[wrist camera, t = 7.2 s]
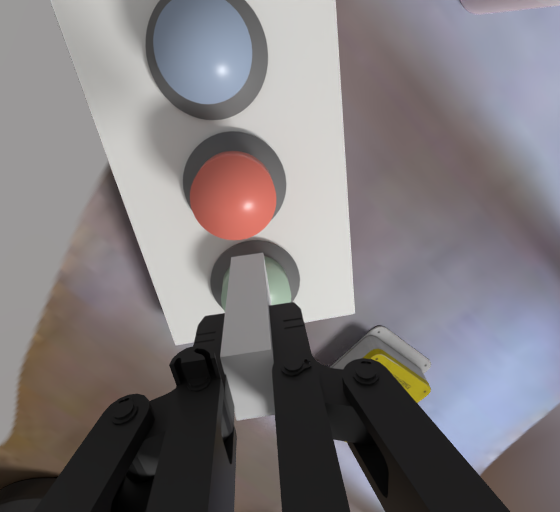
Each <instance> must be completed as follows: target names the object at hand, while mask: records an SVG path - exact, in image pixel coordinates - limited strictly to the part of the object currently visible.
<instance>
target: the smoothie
mask: <svg viewBox="0 0 560 512" xmlns="http://www.w3.org/2000/svg"><path fill="white" fill-rule="evenodd" d="M460 1H461V3H462V5H463V6H464V8H465V9H466V10H467V11H469V12H470V13H473V14H489V13H498V12H507V11H516V10H525V9H533V8H542V7H551V6H560V0H460Z"/></svg>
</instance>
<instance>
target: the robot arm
mask: <svg viewBox="0 0 560 512" xmlns="http://www.w3.org/2000/svg"><path fill="white" fill-rule="evenodd" d="M169 366H170V368H171V371H172V374H173V377H174V379H175V382H176V385H177V386H176V389H174V390H173V391H171V392H170V393H168V394H166V395H163V396H161V397H159V398H156V399H154V400H151V401H149V400H148V399H147V398H146V397H145V396H144V395H140V394H131V395H127V396H125V397H122V398H120V399H118V400H117V401H115V402H114V403H112V404H111V405H110V406H109V407H108V408H107V409H106V410H105V411H104V413H103V414H102V415H101V417H100V418H99V420H98V421H97V423H96V424H95V425H94V427H93V428H92V430H91V431H90V432H89V434H88V435H87V437H86V438H85V440H84V441H83V442H82V444H81V445H80V447H79V448H78V449H77V451H76V452H75V454H74V455H73V456H72V458H71V459H70V461H69V462H68V464H67V465H66V466H65V468H64V469H63V471H62V472H61V473H60V475H59V476H58V478H57V479H56V478H38V479H29V480H24V481H20V482H16V483H13V484H11V485H8V486H6V487H4V488H2V489H1V490H0V512H234V497H235V468H236V440H237V436H236V430H235V427H234V412H235V415H236V419H237V420H244V419H250V418H257V417H263V416H270V415H275V421H276V434H277V448H278V461H279V475H280V488H281V502H282V512H350V508H349V504H348V500H347V496H346V491H345V487H344V483H343V479H342V474H341V470H340V466H339V462H338V457H337V453H336V449H335V445H334V441H333V439H334V440H340V441H346V442H347V443H348V445H349V447H350V449H351V451H352V452H353V454H354V456H355V458H356V460H357V461H358V463H359V465H360V467H361V469H362V470H363V472H364V474H365V476H366V478H367V479H368V481H369V483H370V485H371V487H372V488H373V490H374V492H375V494H376V496H377V498H378V499H379V501H380V503H381V505H382V507H383V508H384V510H385V512H510V511H509V510H508V508H507V507H506V506H505V505H504V504H503V503H502V502H501V500H500V499H499V498H498V497H497V496H496V495H495V493H494V492H493V491H492V490H491V489H490V488H489V486H488V485H487V484H486V483H485V482H484V480H483V479H482V478H481V477H480V476H479V475H478V473H477V472H476V471H475V470H474V469H473V468H472V467H471V465H470V464H469V463H468V462H467V461H466V460H465V458H464V457H463V456H462V455H461V454H460V453H459V451H458V450H457V449H456V448H455V447H454V446H453V444H452V443H451V442H450V441H449V440H448V439H447V437H446V436H445V435H444V434H443V433H442V432H441V430H440V429H439V428H438V427H437V426H436V425H435V423H434V422H433V421H432V420H431V419H430V418H429V417H428V415H427V414H426V413H425V412H424V411H423V410H422V408H421V407H420V406H419V405H418V404H417V403H416V401H415V400H414V399H413V398H412V397H411V396H410V394H409V393H408V392H407V391H406V390H405V389H404V387H403V386H402V385H401V384H400V383H399V382H398V380H397V379H396V378H395V377H394V376H393V375H392V374H391V372H390V371H389V370H388V369H387V368H386V367H385V366H384V365H383V364H381V363H380V362H378V361H375V360H373V359H366V358H361V359H355V360H353V361H351V362H349V363H347V365H346V366H345V367H344V369H336V368H330V367H326V366H324V365H321V364H320V363H318V362H317V361H316V360H315V359H314V358H313V356H312V354H311V350H310V346H309V341H308V337H307V333H306V329H305V324H304V320H303V316H302V311H301V308H300V307H299V306H298V305H297V304H295V303H294V302H290V303H283V304H276V305H271V297H270V291H269V285H268V279H267V272H266V266H265V260H264V254H263V253H257V254H250V255H243V256H236V257H231V264H230V273H229V282H228V291H227V300H226V309H225V313H222V314H215V315H208V316H205V317H204V318H203V319H202V320H201V322H200V323H199V324H198V327H197V331H196V336H195V340H194V345H193V347H189V348H186V349H184V350H183V351H181V352H179V353H178V354H177V355H176V356H175V357H174V358H173V359H172V361H171V363H170V364H169Z"/></svg>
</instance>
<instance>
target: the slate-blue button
mask: <svg viewBox="0 0 560 512" xmlns="http://www.w3.org/2000/svg"><path fill="white" fill-rule="evenodd" d="M153 47H154V54H155V59H156V62H157V65H158V67H159V70H160V72H161V74H162V75H163V77H164V79H165V80H166V81H167V83H168V84H169V85H170V86H171V87H172V88H173V90H175V91H176V92H177V93H178V94H179V95H181V96H183V97H184V98H186V99H188V100H190V101H193V102H196V103H200V104H216V103H220V102H223V101H226V100H228V99H230V98H232V97H233V96H234V95H236V94H237V93H238V92H239V91H240V90H241V89H242V87H243V86H244V84H245V82H246V81H247V78H248V76H249V73H250V69H251V63H252V43H251V39H250V35H249V32H248V29H247V27H246V25H245V22H244V21H243V19H242V17H241V16H240V14H239V13H238V12H237V11H236V9H235V8H234V7H233V6H232V5H231V4H230V3H228V2H227V1H226V0H171V1H170V2H169V3H168V4H167V5H166V6H165V7H164V9H163V10H162V12H161V13H160V15H159V17H158V20H157V22H156V25H155V29H154V36H153Z"/></svg>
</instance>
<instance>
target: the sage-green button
mask: <svg viewBox="0 0 560 512" xmlns="http://www.w3.org/2000/svg"><path fill="white" fill-rule="evenodd" d="M264 260H265V266H266V272H267V279H268V285H269V291H270V297H271V305H276V304H283V303H290V302H291V291H290V287H289V282H288V278H287V274H286V272H285V270H284V268H283V267H282V266H281V265H280V264H279V263H278V262H277V261H275V260H274V259H272V258H269V257H267V256H264ZM229 273H230V267H229V268H228V269H227V271H226V273H225V275H224V279H223V286H222V294H221V303H222V307H223V310H224V311H225V309H226V300H227V291H228V282H229Z"/></svg>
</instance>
